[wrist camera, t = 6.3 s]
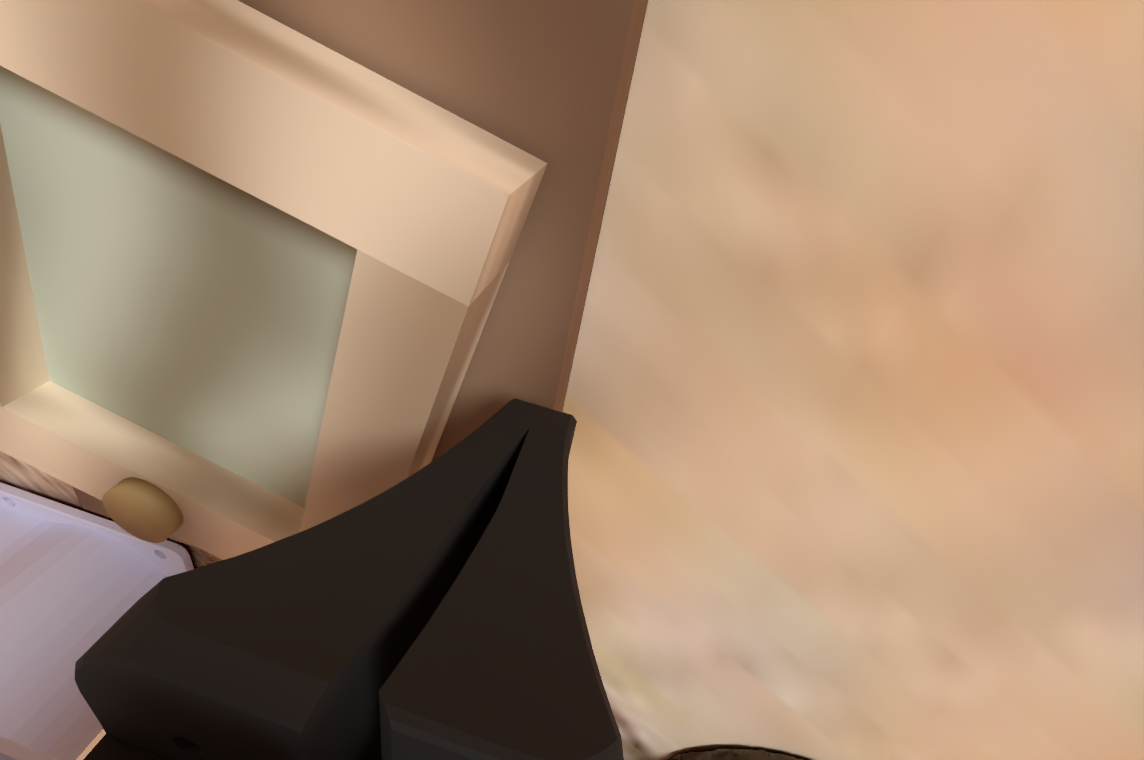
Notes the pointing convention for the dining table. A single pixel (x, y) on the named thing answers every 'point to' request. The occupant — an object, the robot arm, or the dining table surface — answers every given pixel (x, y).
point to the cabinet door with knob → (233, 265)
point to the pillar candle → (733, 755)
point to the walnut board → (524, 119)
